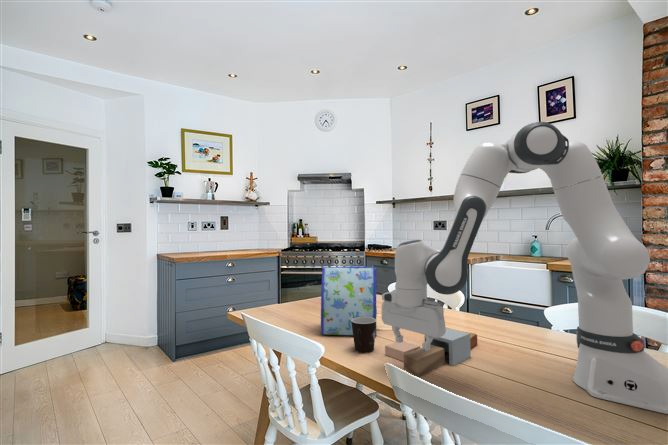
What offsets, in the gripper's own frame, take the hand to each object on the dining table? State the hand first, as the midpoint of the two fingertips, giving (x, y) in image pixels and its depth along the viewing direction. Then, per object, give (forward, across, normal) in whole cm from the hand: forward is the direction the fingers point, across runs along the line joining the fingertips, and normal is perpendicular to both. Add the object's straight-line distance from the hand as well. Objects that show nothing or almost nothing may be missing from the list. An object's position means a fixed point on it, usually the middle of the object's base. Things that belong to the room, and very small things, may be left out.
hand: (412, 345), depth 101 cm
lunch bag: (+8, +42, -14) cm, 45 cm away
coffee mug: (+8, +23, -2) cm, 25 cm away
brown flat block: (+8, +7, -30) cm, 32 cm away
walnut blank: (+8, 0, -6) cm, 10 cm away
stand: (+8, +11, -9) cm, 16 cm away
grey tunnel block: (+8, 0, -18) cm, 20 cm away
